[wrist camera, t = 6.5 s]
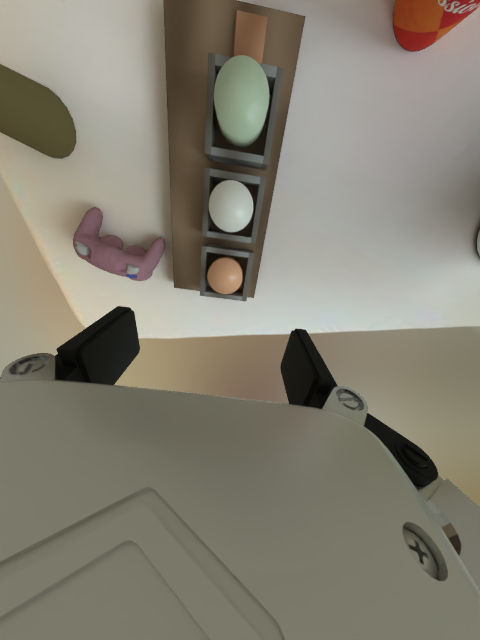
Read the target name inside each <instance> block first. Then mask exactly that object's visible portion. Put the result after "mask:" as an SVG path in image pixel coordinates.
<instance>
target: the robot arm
mask: <svg viewBox="0 0 480 640" xmlns="http://www.w3.org/2000/svg"><path fill="white" fill-rule="evenodd" d="M477 250H478V253H479V256H480V231H479V234H478V239H477ZM139 350H140V346H139V340H138V333H137V327H136V321H135V314H134V311H133V310H131V308H129V307H121V306H118V307H116V308H115V309H113V310H112V311H110V312H109V313H108V314H106V315H105V316H103V317H102V318H100V319H99V320H97V321H96V322H95V323H93V324H92V325H90V326H89V327H87V328H86V329H85V330H83V331H82V332H80V333H79V334H77V335H76V336H74V337H73V338H72V339H70V340H69V341H67V342H66V343H64V344H63V345H61V346H60V347H59V348H57V352H58V354H57V355H56V356H54V355H52V354H48V353H38V354H32V355H28V356H25V357H22V358H20V359H17V360H15V361H14V362H12V363H10V364H9V365H8V366H6V367H5V369H4V370H3V372H2V375H1V377H0V640H480V507H479V506H478V505H477V504H476V503H474V502H473V501H472V500H471V499H470V498H469V497H467V495H465V494H464V493H463V492H462V491H461V490H460V489H459V488H457V487H456V486H455V485H454V484H453V483H452V482H451V481H449V480H448V479H447V478H446V479H445V480H443V479H442V478H441V477H440V476H438V472H437V468H436V466H435V465H434V463H433V461H432V460H431V459H430V457H429V456H428V455H427V454H426V453H425V452H424V451H423V450H422V449H420V448H419V447H418V446H417V445H415V444H414V443H412V442H411V441H409V440H408V439H406V438H405V437H403V436H402V435H400V434H399V433H397V432H396V431H394V430H393V429H391V428H390V427H388V426H387V425H385V424H384V423H382V422H381V421H379V420H378V419H376V418H375V417H373V416H372V415H370V414H368V413H367V412H368V406H367V403H366V401H365V400H364V399H363V397H362V396H360V395H359V394H358V393H357V392H355V391H354V390H352V389H350V388H348V387H344V386H337V384H336V382H335V381H334V379H333V377H332V375H331V373H330V372H329V370H328V368H327V366H326V364H325V363H324V361H323V359H322V357H321V356H320V354H319V352H318V351H317V349H316V347H315V345H314V343H313V342H312V340H311V338H310V336H309V335H308V333H307V331H306V330H303V329H295V330H294V331H292V332H291V334H290V338H289V341H288V344H287V347H286V350H285V353H284V356H283V359H282V363H281V373H282V377H283V381H284V385H285V389H286V393H287V397H288V401H289V404H285V403H276V402H267V401H259V400H250V399H241V398H232V397H223V396H214V395H204V394H195V393H185V392H176V391H166V390H157V389H147V388H137V387H127V386H116V385H114V384H115V383H116V381H117V380H118V379H119V377H120V376H121V375H122V374H123V372H124V371H125V370H126V369H127V367H128V366H129V365H130V364H131V362H132V361H133V359H134V358H135V357H136V356H137V355H138V353H139Z"/></svg>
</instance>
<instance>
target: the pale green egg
mask: <svg viewBox="0 0 480 640" xmlns="http://www.w3.org/2000/svg"><path fill="white" fill-rule="evenodd" d="M214 104H215V109H216V114H217V118H218V123H219V127H220V130H221V132H222V134H223V136H224V138H225V139H226V140H227V142H228V143H230V144H231V145H232V146H235V147H238V148H245V147H248V146H250V145H252V144H253V143H254V142H255V141H256V140H257V139H258V137H259V136H260V134H261V132H262V129H263V126H264V122H265V118H266V114H267V110H268V105H269V86H268V81H267V78H266V75H265V73H264V71H263V69H262V67H261V66H260V65H259V64H258V62H257V61H255V60H254V59H253V58H251V57H249V56H245V55H238V56H235V57H233V58H231V59H229V60H228V61H227V62H226V63H225V64H224V65H223V67H222V68H221V70H220V71H219V73H218V76H217V79H216V82H215V87H214Z"/></svg>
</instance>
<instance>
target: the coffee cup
mask: <svg viewBox="0 0 480 640" xmlns="http://www.w3.org/2000/svg"><path fill="white" fill-rule="evenodd" d="M479 6H480V0H396V1H395V5H394V12H393V27H394V33H395V36H396V39H397V41H398V43H399V44H400V45H401V47H403V48H404V49H406V50H408V51H420V50H423V49H425V48H427V47H428V46H430V45H431V44H433V43H434V42H436V41H437V40H438V39H440V38H441V37H442V36H443V35H445V34H446V33H447V32H448V31H450V30H451V29H452V28H454V27H455V26H456V25H457V24H459V23H460V22H461V21H462V20H463V19H465V18H466V17H467V16H468V15H470V14H471V13H472V12H473V11H474V10H476V9H477V8H478V7H479Z"/></svg>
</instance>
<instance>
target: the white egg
mask: <svg viewBox="0 0 480 640" xmlns="http://www.w3.org/2000/svg"><path fill="white" fill-rule="evenodd" d="M209 212H210V216H211V218H212V220H213V222H214V223H215V224H216V225H217V226H218V227H219V228H220V229H222V230H224V231H226V232H237V231H240V230H241V229H243V228H244V227H245V226H246V225H247V224H248V223H249V221H250V219H251V217H252V214H253V200H252V196H251V194H250V192H249V190H248V189H247V188H246V187H245V186H244V185H243V184H242V183H240V182H238V181H235V180H227V181H223V182H221V183H220V184H218V185H217V186H216V187H215V188H214V190H213V191H212V193H211V196H210V199H209Z"/></svg>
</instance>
